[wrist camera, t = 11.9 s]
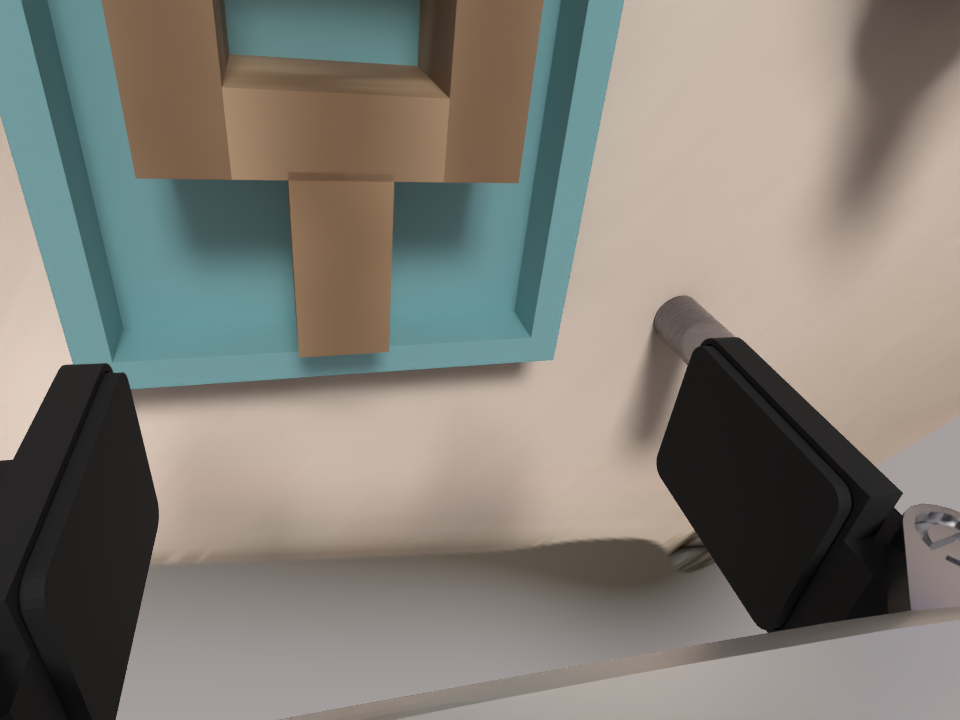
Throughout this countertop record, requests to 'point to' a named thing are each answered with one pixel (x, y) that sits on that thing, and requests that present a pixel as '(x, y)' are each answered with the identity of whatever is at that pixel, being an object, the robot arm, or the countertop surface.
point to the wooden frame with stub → (329, 134)
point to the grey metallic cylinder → (687, 325)
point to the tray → (265, 212)
